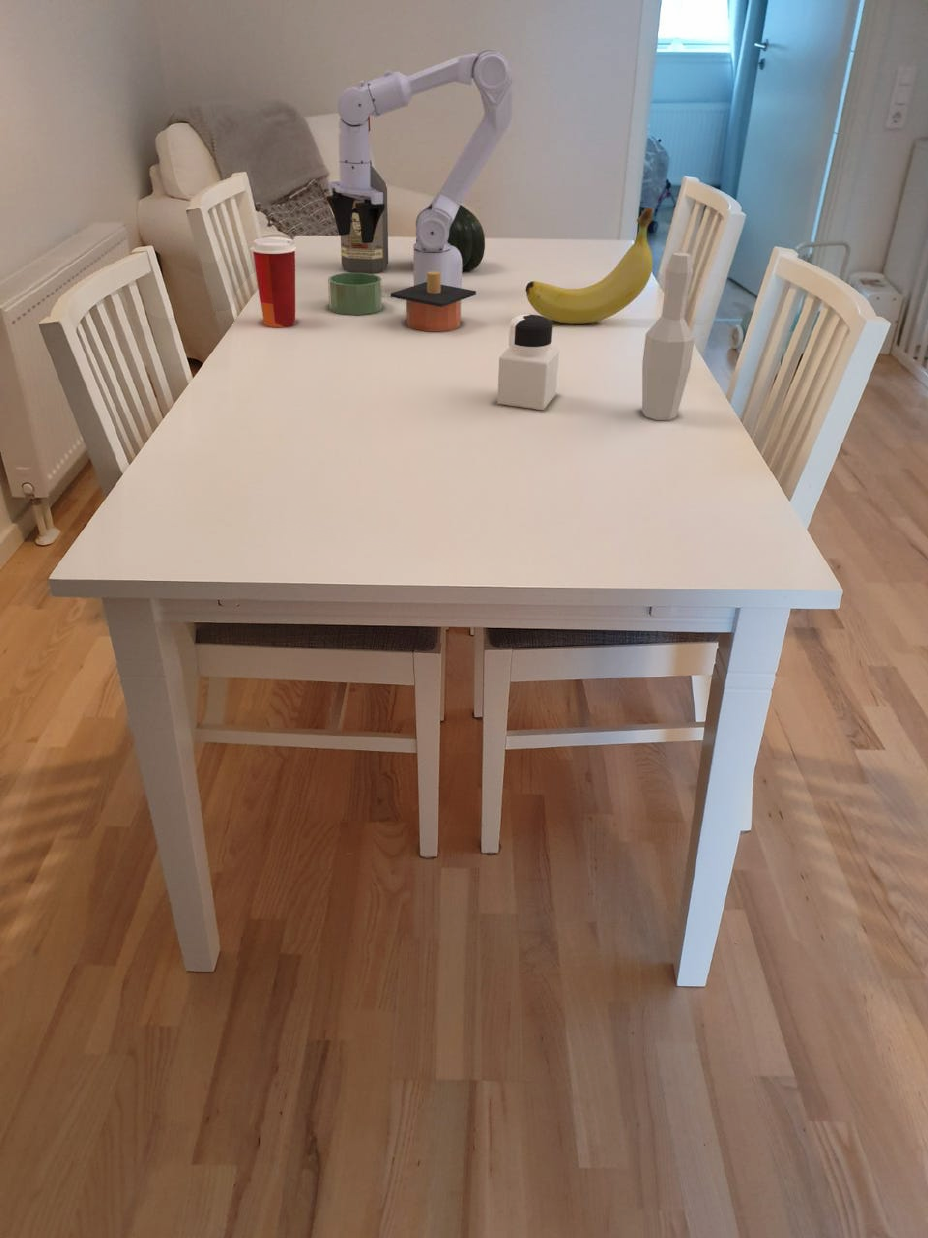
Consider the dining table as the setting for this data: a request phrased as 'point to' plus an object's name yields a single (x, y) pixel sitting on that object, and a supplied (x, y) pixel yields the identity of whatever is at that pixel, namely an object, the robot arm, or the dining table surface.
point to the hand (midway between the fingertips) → (355, 238)
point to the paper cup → (276, 279)
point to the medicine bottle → (528, 364)
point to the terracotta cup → (433, 316)
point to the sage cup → (355, 293)
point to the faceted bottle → (668, 345)
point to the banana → (598, 287)
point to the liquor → (352, 247)
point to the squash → (467, 238)
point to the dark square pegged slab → (433, 292)
